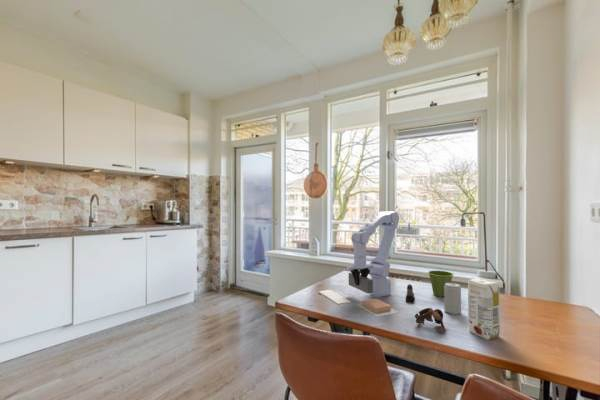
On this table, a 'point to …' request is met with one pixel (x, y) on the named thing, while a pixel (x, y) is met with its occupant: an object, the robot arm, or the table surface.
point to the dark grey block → (362, 283)
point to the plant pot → (439, 281)
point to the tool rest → (334, 297)
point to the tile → (376, 305)
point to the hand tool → (410, 294)
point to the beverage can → (452, 298)
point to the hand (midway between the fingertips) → (360, 284)
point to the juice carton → (484, 308)
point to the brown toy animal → (428, 315)
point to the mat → (378, 312)
